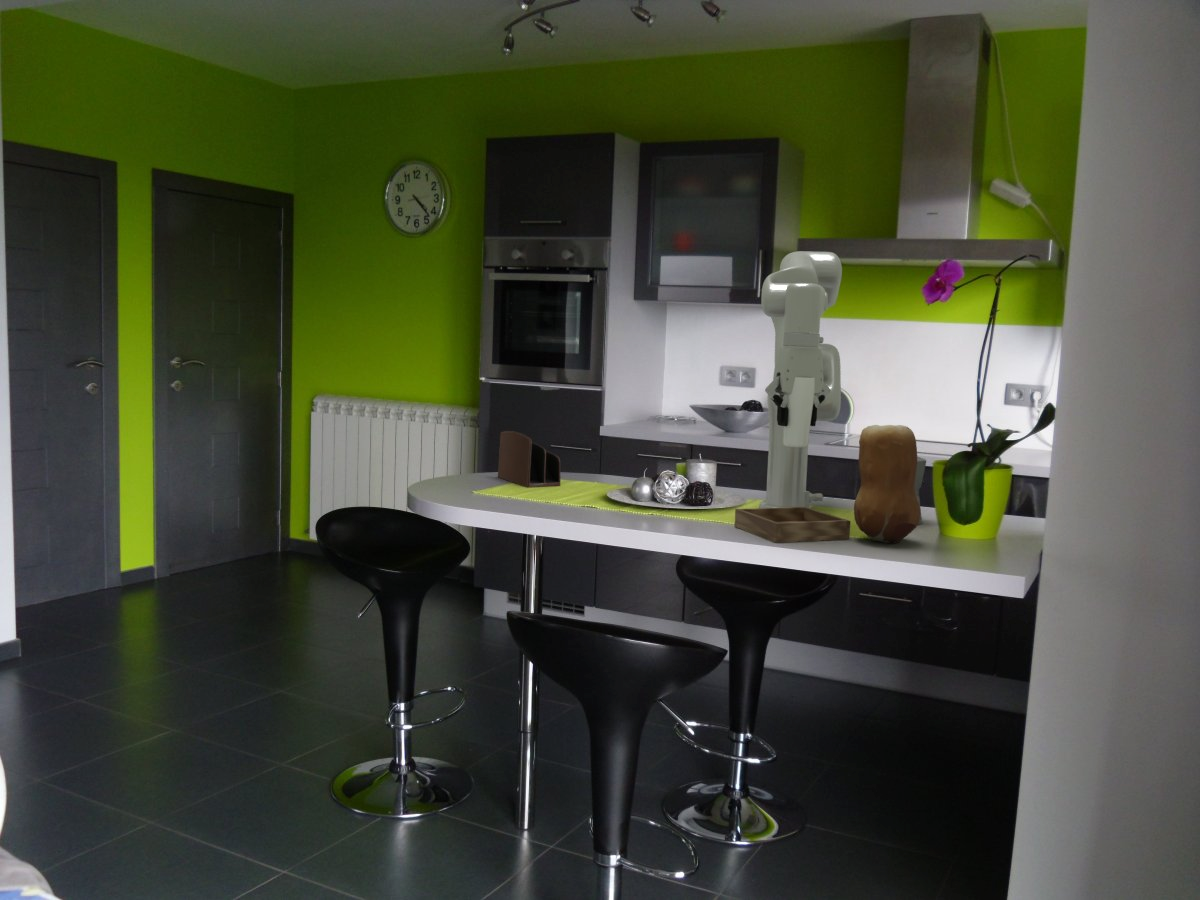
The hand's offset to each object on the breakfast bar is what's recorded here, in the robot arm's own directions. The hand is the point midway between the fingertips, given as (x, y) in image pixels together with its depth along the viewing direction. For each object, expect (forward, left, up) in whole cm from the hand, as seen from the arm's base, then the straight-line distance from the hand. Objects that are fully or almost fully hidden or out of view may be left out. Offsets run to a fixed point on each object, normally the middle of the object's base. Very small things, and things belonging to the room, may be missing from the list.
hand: (796, 424), depth 233 cm
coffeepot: (-33, -6, -24) cm, 41 cm away
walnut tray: (0, 0, -24) cm, 24 cm away
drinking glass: (0, 0, -5) cm, 5 cm away
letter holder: (+34, -82, -24) cm, 92 cm away
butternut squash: (-15, +13, -24) cm, 31 cm away
